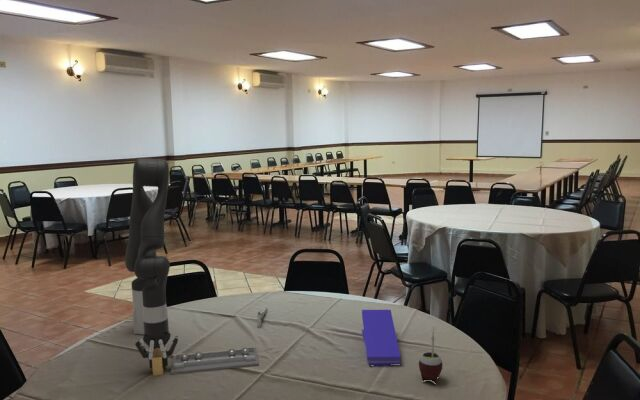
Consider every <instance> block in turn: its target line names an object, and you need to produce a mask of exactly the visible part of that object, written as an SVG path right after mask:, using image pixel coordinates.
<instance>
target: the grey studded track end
mask: <svg viewBox="0 0 640 400" xmlns="http://www.w3.org/2000/svg"><path fill="white" fill-rule="evenodd" d="M254 348H255V347H254V346H246V347H243V348H229V349H225V350H214V351H215V356H224V355H228V357H222V358H215V364H216V363H226V362H236V361H246V362H247V361H255V355H253V356H249V352H254ZM236 354H242V356H236Z"/></svg>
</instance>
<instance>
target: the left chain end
mask: <svg viewBox="0 0 640 400" xmlns="http://www.w3.org/2000/svg"><path fill="white" fill-rule="evenodd" d="M215 351H216V350H214V351H204V352H203V351H197V352H193V353H184V352H183V353H176V354H175V356H176V359H181V363H174V369H178V368H184V367H187V366H197V365H207V364H215V358H212V359H202V358H204V357H214V356H215ZM194 358H195V360H192V361H188V359H194Z"/></svg>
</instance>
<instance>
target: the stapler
mask: <svg viewBox="0 0 640 400" xmlns="http://www.w3.org/2000/svg"><path fill="white" fill-rule="evenodd" d="M361 318H362V326H363V327H362V328H363V329H361V334H362V338H363V342H365V343H364V347H365V346H366V347H365V351H366V352H365V353H366V361H367V362H368V363H369V362H370V363H369V366H370V365H391V364H400V365H401V363H402V362H401V352H400V347H399V344H398V343H399V342H398V338H397V334H396V329H395V323H394V319H393V315H392V311H391V309H362V310H361Z"/></svg>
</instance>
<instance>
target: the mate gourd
mask: <svg viewBox="0 0 640 400" xmlns="http://www.w3.org/2000/svg"><path fill="white" fill-rule="evenodd" d="M431 329H432V330H431V352H429V351H428V352H423V353H422V354H421V356H420V357H419V361H418V368H419V372H420V376H421V380H423V381H424V380H432V381H434V382H435V383H437V380H438V379H437V377H440V375H441V373H442V370H443V366H444V365H443V361H442V359H441V356H440V355H439V354H438V353H435V352H434V351H435V350H434V349H435V348H434V345H435V344H434V343H435V342H434V341H435V327H434V326H432V328H431Z"/></svg>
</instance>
